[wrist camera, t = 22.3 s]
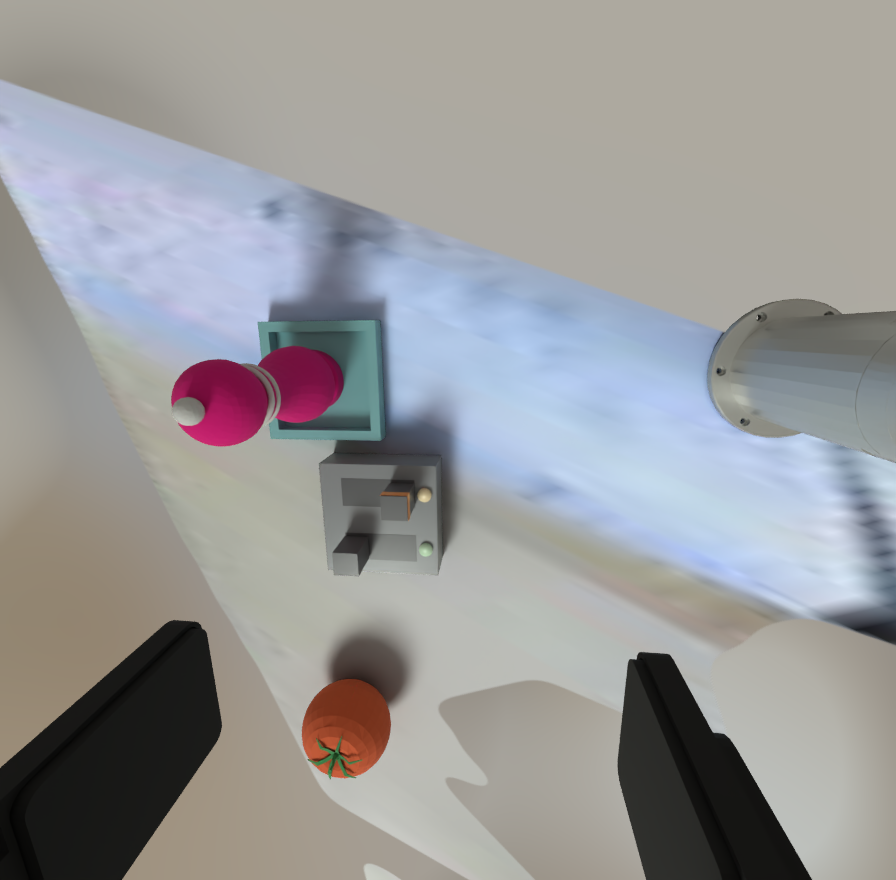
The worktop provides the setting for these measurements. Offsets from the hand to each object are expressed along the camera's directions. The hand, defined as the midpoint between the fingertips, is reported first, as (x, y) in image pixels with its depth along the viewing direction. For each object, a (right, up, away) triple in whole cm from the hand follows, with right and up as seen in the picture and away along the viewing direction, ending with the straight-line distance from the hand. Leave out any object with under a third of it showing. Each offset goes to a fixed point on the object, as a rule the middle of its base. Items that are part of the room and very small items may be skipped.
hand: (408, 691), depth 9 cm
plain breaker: (-9, -6, +36) cm, 37 cm away
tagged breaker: (-4, 0, +34) cm, 34 cm away
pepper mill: (-13, +12, +36) cm, 40 cm away
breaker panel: (-6, -2, +39) cm, 39 cm away
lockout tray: (-12, +12, +36) cm, 40 cm away
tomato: (-10, -27, +46) cm, 54 cm away
